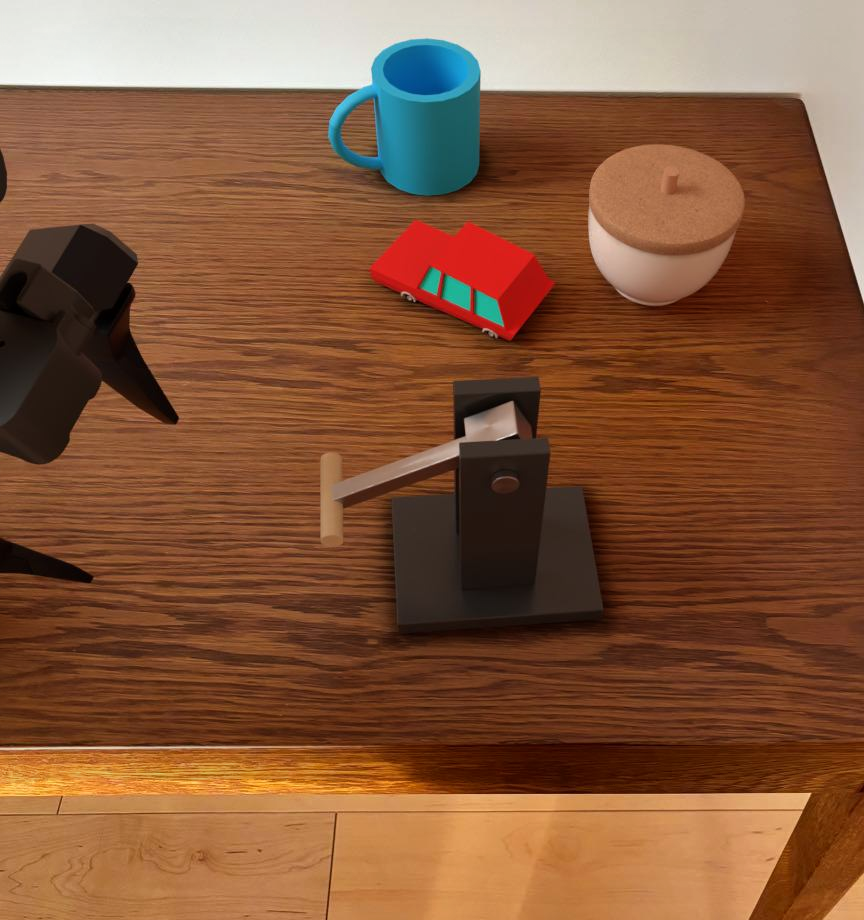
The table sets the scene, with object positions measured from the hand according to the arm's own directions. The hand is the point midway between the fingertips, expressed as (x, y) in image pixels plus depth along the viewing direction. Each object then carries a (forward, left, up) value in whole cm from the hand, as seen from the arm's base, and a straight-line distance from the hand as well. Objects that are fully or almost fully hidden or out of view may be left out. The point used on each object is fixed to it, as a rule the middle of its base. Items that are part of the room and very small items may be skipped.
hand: (131, 498), depth 52 cm
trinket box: (+30, +28, -10) cm, 42 cm away
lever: (+15, +2, -1) cm, 15 cm away
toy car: (+16, +26, -10) cm, 32 cm away
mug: (+11, +40, -10) cm, 43 cm away
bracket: (+19, +3, -10) cm, 21 cm away
